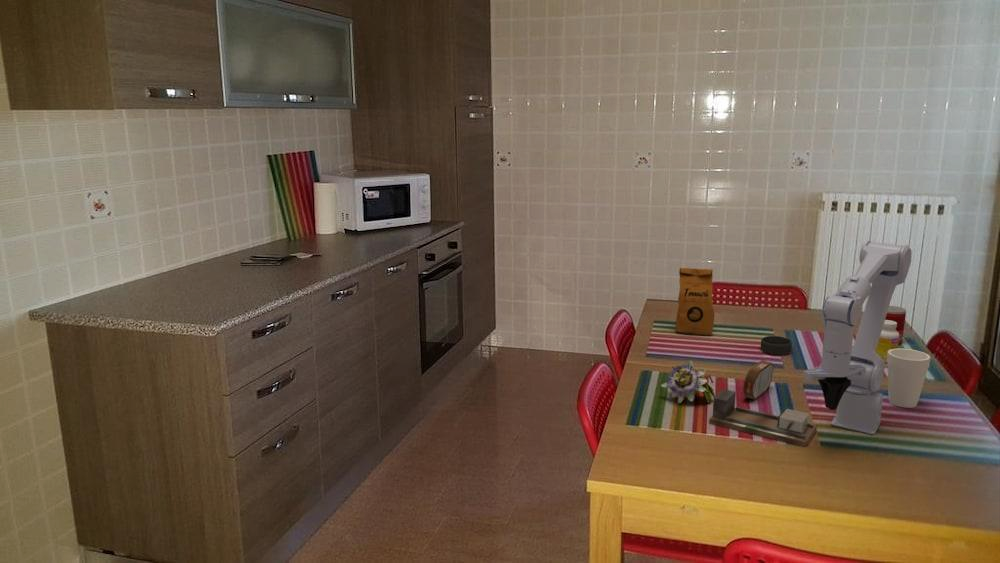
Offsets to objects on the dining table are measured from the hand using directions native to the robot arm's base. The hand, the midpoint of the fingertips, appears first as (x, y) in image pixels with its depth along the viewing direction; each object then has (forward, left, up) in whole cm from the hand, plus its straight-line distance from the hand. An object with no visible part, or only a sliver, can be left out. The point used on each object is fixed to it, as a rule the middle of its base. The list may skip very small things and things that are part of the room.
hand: (830, 408), depth 164 cm
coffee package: (+55, -63, -9) cm, 84 cm away
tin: (+21, -20, -9) cm, 31 cm away
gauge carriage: (+8, +1, -7) cm, 10 cm away
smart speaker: (+27, -58, -9) cm, 65 cm away
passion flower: (+35, -7, -9) cm, 37 cm away
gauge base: (+14, 0, -8) cm, 17 cm away
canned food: (0, -88, -9) cm, 88 cm away
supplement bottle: (-2, -64, -9) cm, 65 cm away
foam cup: (-11, -35, -9) cm, 38 cm away
